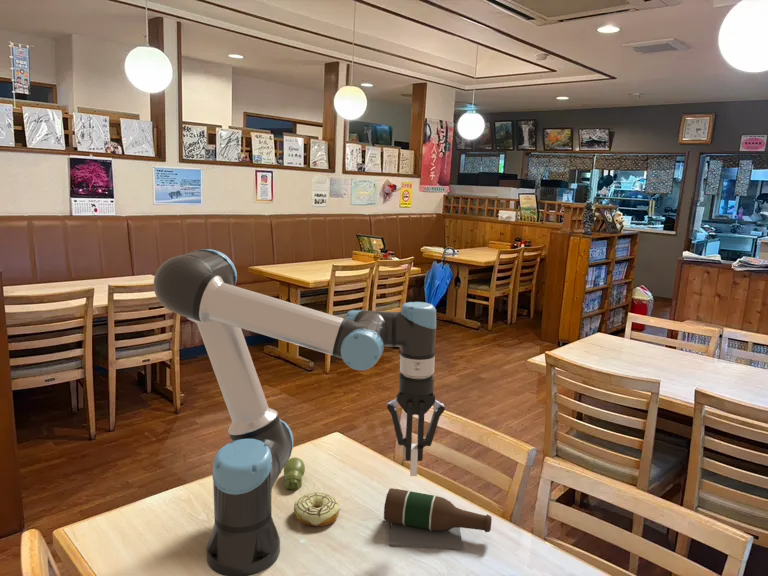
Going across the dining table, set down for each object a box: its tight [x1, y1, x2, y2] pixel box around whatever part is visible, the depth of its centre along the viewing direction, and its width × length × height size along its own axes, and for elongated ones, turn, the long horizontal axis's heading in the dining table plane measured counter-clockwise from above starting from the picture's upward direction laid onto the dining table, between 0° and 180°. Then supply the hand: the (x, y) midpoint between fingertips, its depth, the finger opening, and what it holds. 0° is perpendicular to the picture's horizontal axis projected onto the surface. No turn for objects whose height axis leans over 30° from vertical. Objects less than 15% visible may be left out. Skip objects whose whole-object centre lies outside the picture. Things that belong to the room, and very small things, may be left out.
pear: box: [283, 457, 306, 491], centre depth 148 cm, size 6×5×10 cm
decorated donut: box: [293, 492, 341, 527], centre depth 133 cm, size 10×11×4 cm
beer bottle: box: [383, 487, 493, 533], centre depth 128 cm, size 8×8×24 cm
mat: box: [389, 523, 464, 551], centre depth 129 cm, size 16×12×1 cm
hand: (413, 473), depth 126 cm, fingers closed
